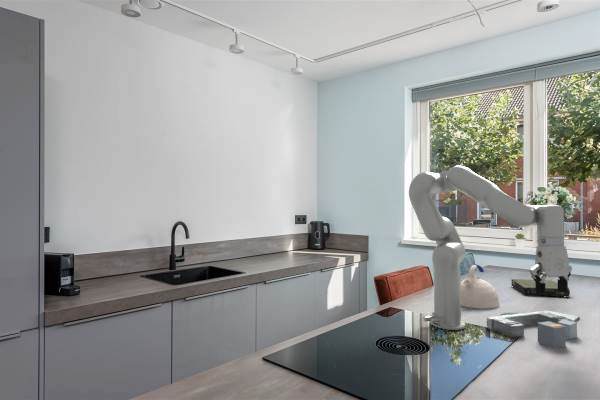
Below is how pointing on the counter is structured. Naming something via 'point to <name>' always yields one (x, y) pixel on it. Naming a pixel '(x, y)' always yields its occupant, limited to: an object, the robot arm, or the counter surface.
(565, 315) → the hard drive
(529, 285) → the network switch
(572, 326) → the block
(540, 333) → the module block
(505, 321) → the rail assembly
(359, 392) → the counter surface
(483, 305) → the kettle
